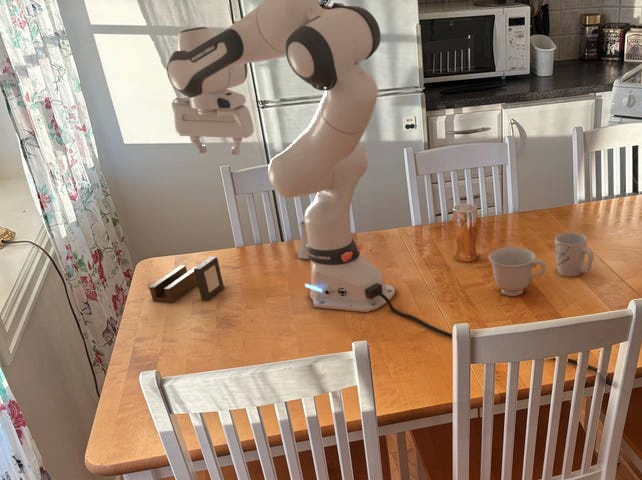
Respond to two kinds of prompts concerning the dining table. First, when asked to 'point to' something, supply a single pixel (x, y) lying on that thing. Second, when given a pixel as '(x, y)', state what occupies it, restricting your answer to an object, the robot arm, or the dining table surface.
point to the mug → (572, 254)
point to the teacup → (514, 269)
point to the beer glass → (465, 231)
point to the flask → (303, 242)
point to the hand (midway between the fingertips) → (219, 153)
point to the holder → (173, 285)
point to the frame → (209, 278)
